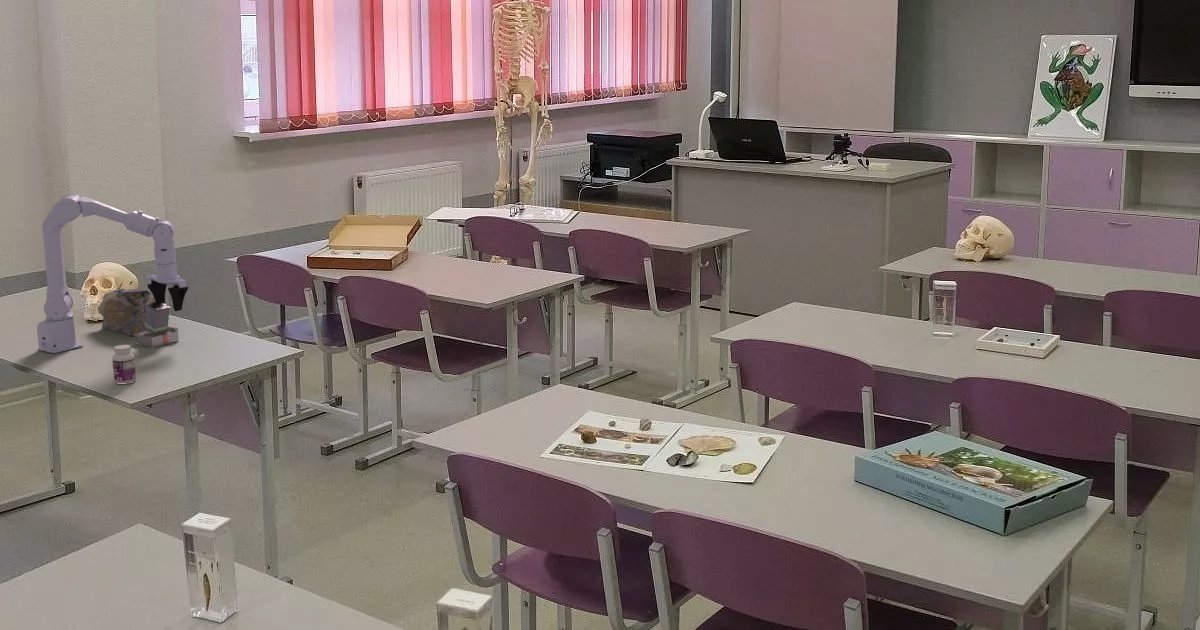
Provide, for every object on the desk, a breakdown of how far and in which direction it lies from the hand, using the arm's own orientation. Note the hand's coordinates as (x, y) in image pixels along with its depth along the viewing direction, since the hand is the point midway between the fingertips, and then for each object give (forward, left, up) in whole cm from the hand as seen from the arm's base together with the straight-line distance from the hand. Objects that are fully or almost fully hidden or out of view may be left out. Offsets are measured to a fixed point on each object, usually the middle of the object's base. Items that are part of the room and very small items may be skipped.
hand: (169, 308), depth 352 cm
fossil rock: (+2, +22, -10) cm, 25 cm away
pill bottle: (-33, -24, -10) cm, 42 cm away
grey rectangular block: (-3, +3, -6) cm, 8 cm away
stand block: (-3, +3, -10) cm, 11 cm away
